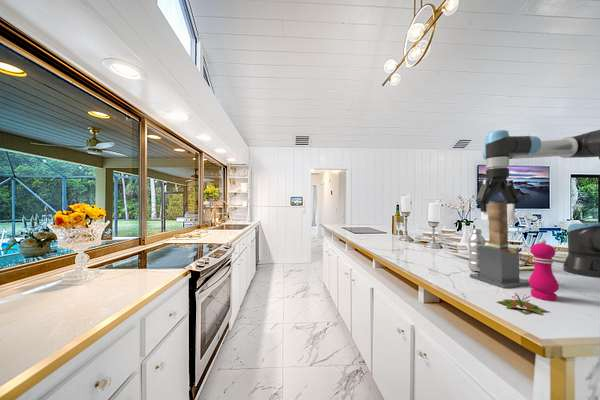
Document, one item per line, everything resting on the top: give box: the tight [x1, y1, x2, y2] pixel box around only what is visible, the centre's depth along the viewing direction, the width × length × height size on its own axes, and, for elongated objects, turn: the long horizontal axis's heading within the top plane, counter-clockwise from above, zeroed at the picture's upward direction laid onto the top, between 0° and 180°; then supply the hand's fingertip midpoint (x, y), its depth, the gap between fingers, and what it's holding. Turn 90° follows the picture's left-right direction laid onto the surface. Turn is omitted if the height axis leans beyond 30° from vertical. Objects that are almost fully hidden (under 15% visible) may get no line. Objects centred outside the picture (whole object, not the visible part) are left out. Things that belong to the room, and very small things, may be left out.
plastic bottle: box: [467, 228, 486, 273], centre depth 114 cm, size 6×7×20 cm
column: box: [488, 200, 509, 249], centre depth 99 cm, size 4×4×25 cm
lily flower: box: [497, 292, 550, 317], centre depth 74 cm, size 12×12×5 cm
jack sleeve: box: [469, 245, 531, 289], centre depth 99 cm, size 14×14×14 cm
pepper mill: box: [528, 238, 560, 302], centre depth 82 cm, size 7×7×20 cm
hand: (498, 219), depth 100 cm, fingers open, 13 cm apart
